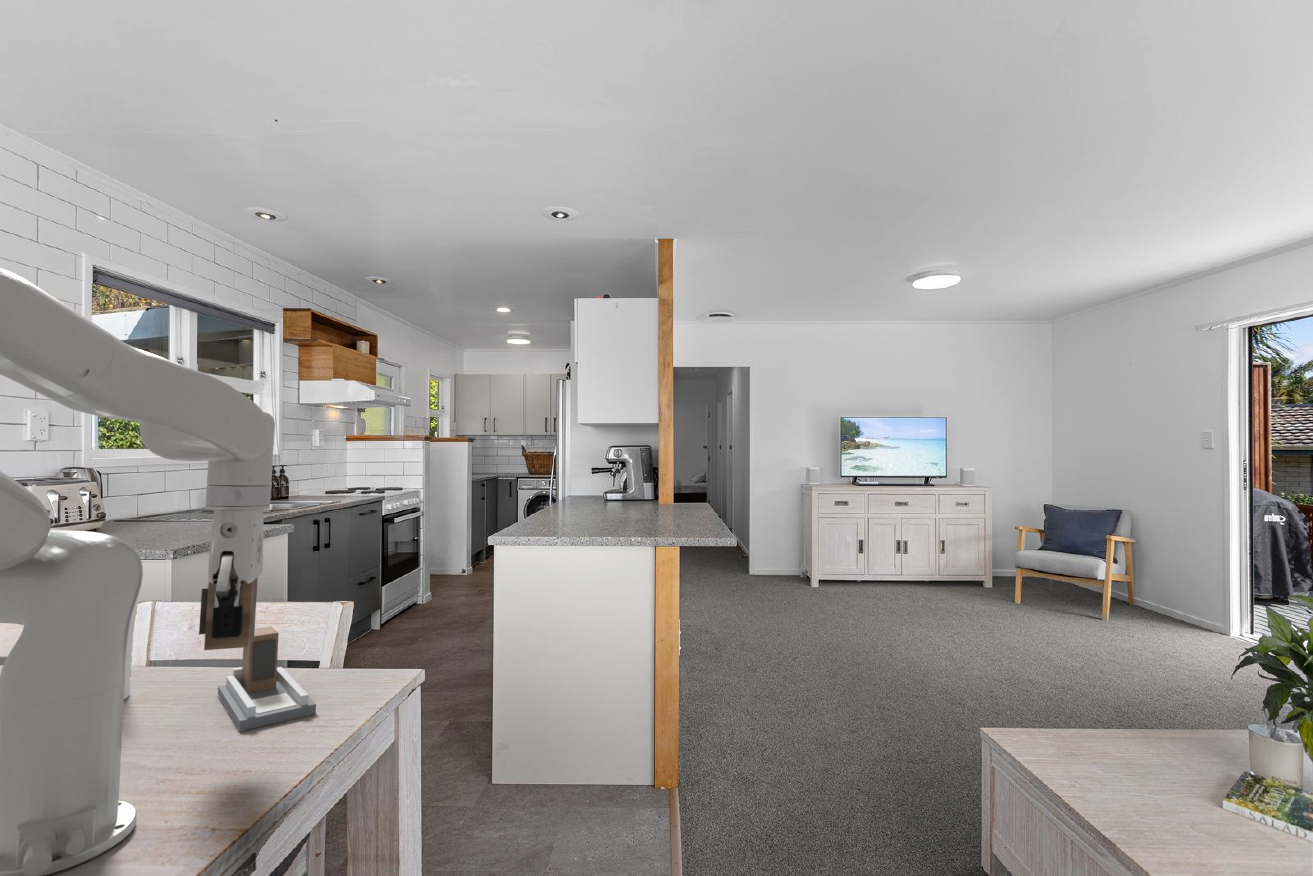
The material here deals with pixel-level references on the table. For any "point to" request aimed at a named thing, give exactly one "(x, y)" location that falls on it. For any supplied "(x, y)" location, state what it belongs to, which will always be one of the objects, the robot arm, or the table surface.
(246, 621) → the walnut finger
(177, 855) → the table surface
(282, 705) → the frame
